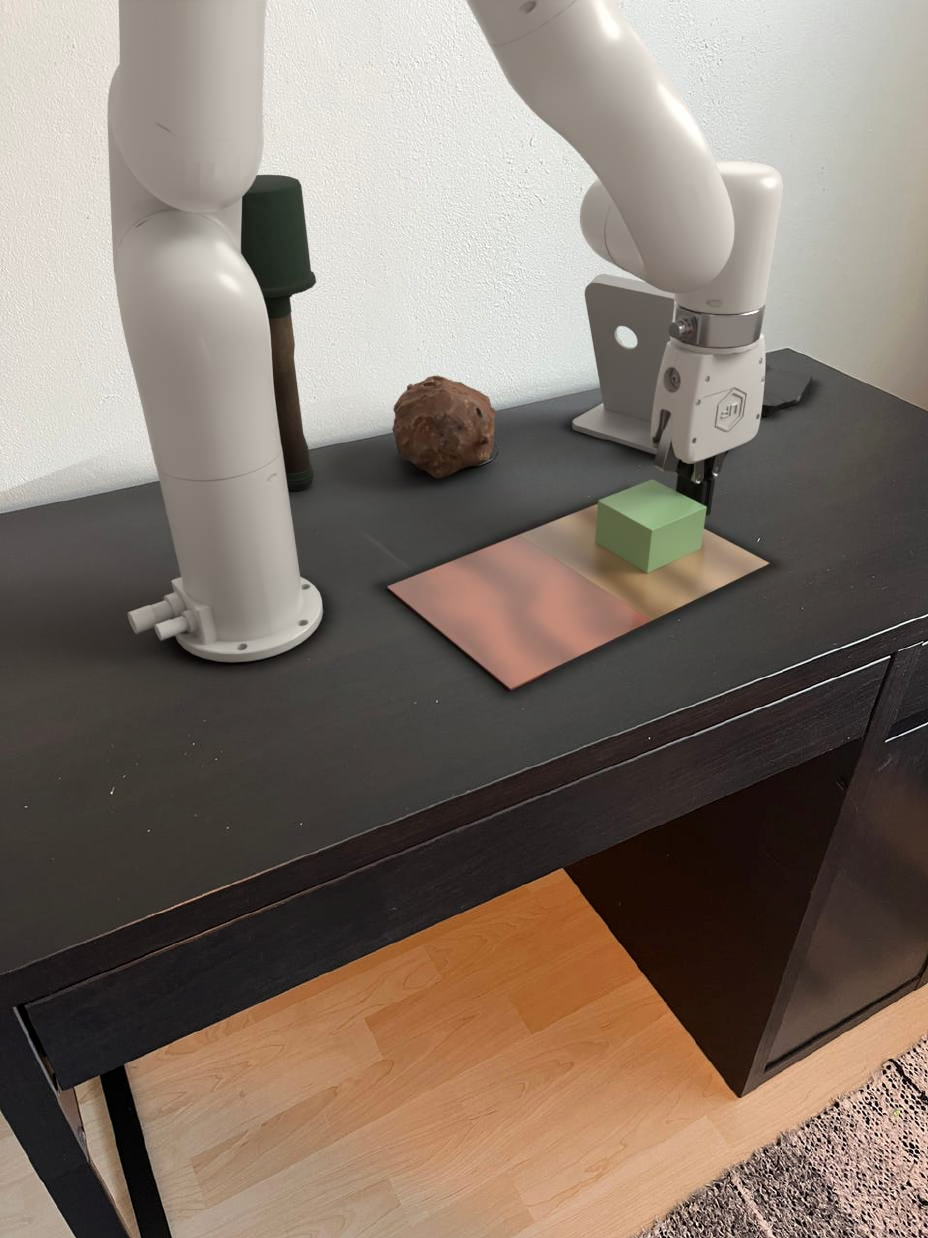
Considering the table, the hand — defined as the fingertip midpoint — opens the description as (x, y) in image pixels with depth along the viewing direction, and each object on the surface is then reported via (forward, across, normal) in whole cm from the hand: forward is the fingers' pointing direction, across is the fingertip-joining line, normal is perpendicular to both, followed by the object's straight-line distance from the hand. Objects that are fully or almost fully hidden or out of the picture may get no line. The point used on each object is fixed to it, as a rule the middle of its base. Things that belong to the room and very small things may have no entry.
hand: (691, 511), depth 92 cm
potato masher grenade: (+2, -26, +32) cm, 41 cm away
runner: (+2, -14, 0) cm, 14 cm away
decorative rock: (+2, -11, +26) cm, 28 cm away
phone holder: (+2, +13, +18) cm, 22 cm away
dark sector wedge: (+2, +33, +18) cm, 38 cm away
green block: (+2, -6, 0) cm, 6 cm away
